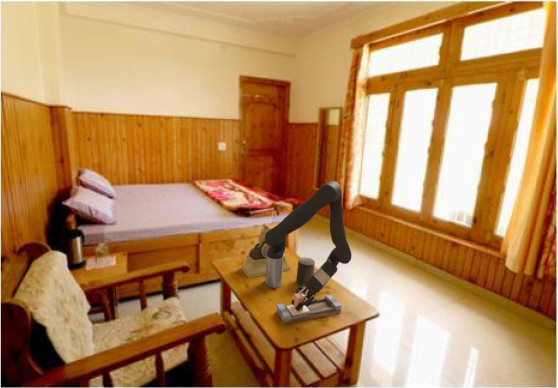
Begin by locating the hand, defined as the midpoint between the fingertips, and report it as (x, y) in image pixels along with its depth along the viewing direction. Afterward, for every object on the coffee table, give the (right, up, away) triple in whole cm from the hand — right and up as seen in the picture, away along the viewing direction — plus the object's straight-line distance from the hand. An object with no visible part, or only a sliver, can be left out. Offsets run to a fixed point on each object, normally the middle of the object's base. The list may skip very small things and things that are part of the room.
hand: (294, 306), depth 139 cm
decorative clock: (-16, +6, +46) cm, 48 cm away
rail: (+7, -4, +4) cm, 9 cm away
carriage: (+2, -3, +1) cm, 3 cm away
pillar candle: (+8, +2, +32) cm, 33 cm away
